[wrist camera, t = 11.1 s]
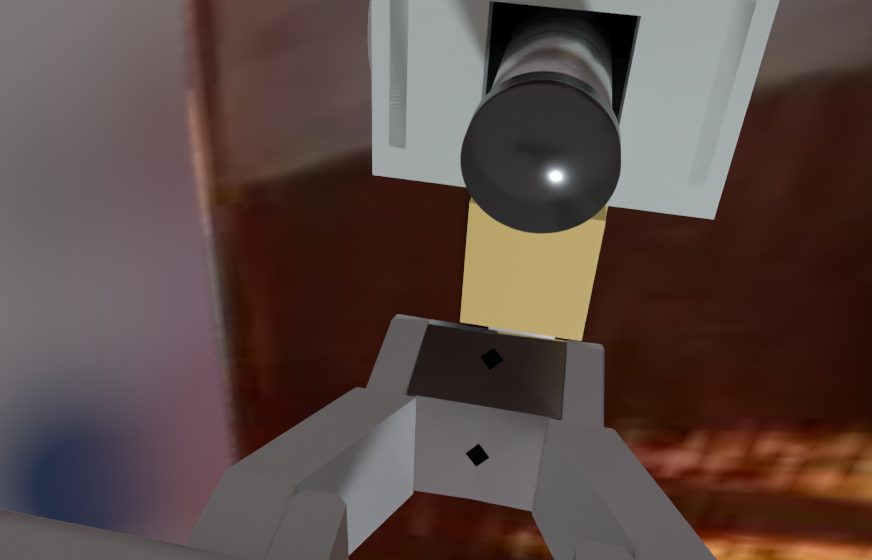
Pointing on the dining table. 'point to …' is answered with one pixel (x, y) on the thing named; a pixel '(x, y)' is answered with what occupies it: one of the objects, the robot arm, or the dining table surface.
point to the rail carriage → (529, 276)
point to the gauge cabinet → (631, 91)
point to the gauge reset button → (546, 126)
